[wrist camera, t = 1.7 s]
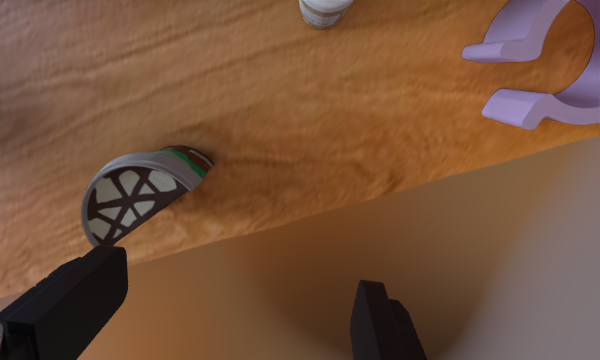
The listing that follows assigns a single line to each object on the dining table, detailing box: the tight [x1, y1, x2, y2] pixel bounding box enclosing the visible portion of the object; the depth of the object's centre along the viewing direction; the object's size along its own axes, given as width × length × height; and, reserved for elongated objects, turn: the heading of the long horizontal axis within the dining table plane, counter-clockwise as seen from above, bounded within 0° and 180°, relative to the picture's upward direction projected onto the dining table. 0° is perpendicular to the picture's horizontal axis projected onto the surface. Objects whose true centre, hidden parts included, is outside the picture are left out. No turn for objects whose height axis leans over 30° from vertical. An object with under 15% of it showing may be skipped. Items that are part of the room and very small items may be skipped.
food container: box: [81, 146, 214, 248], centre depth 33 cm, size 12×6×10 cm, turn 126°
